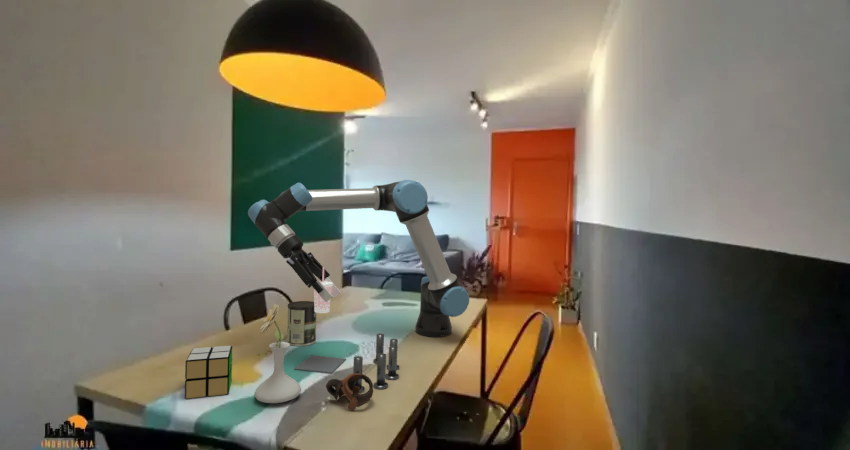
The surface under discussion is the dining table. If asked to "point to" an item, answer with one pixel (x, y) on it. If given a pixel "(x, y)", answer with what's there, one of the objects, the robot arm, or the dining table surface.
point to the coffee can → (301, 323)
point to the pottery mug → (350, 390)
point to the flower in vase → (277, 369)
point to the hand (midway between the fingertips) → (333, 297)
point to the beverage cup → (319, 303)
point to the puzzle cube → (208, 372)
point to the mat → (320, 364)
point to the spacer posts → (380, 364)
